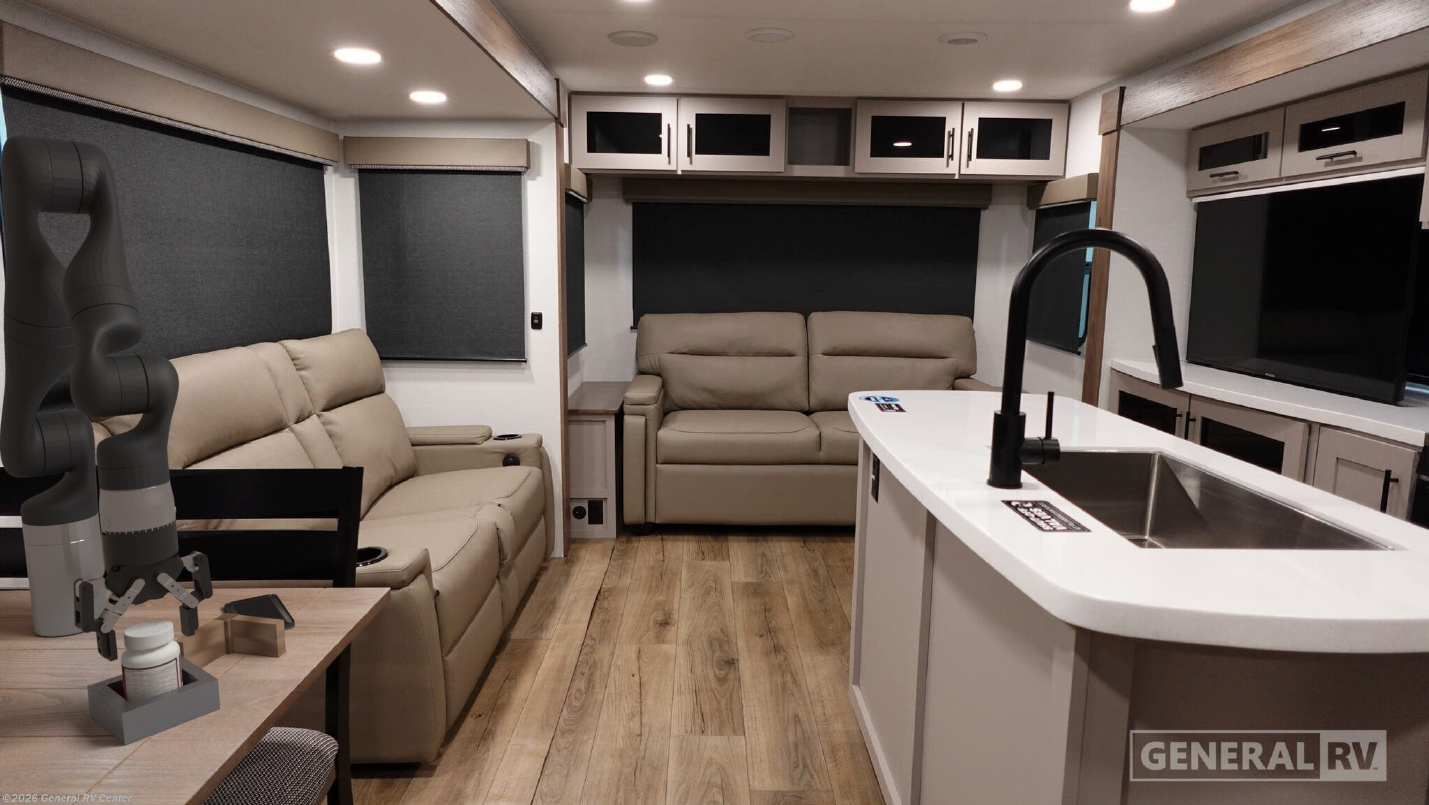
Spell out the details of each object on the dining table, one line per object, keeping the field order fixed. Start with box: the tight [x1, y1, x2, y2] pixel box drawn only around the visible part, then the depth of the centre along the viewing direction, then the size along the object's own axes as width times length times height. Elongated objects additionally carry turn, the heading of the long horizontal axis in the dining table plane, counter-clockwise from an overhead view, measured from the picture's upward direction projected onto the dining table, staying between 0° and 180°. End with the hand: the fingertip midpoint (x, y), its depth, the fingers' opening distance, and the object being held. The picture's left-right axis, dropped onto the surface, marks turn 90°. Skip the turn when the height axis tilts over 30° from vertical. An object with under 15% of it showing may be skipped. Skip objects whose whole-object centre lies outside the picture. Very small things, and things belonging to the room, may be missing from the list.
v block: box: [173, 612, 287, 669], centre depth 122 cm, size 8×14×5 cm, turn 124°
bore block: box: [86, 655, 221, 746], centre depth 106 cm, size 11×11×4 cm
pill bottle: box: [120, 619, 183, 704], centre depth 106 cm, size 6×6×11 cm
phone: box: [223, 593, 296, 631], centre depth 135 cm, size 8×1×15 cm
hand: (150, 646), depth 105 cm, fingers open, 8 cm apart
